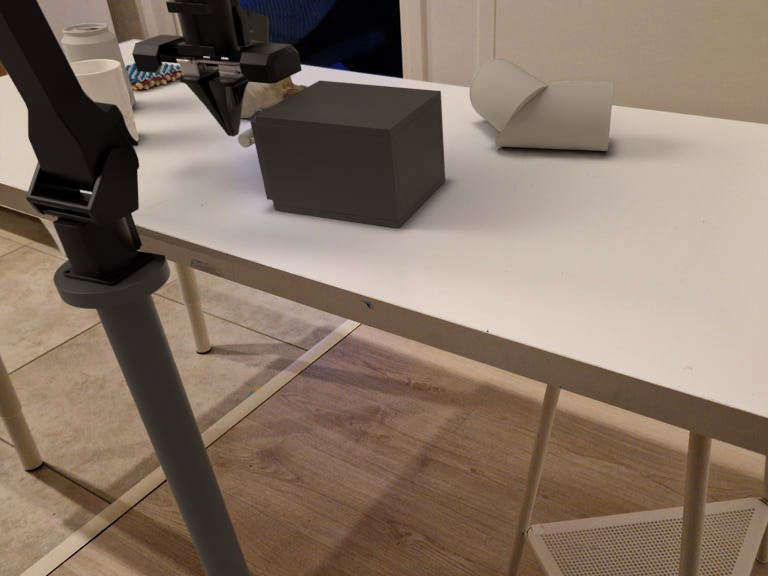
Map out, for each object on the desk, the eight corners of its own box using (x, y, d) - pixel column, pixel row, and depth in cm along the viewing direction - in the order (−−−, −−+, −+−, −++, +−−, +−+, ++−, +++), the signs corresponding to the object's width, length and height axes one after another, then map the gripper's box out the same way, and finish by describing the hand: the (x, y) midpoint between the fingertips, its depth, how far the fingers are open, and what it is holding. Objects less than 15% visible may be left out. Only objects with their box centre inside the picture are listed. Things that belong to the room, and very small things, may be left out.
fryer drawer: (234, 195, 82) (216, 117, 77) (291, 157, 91) (278, 85, 86) (381, 215, 77) (372, 134, 72) (425, 173, 86) (420, 98, 81)
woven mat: (190, 77, 125) (187, 65, 124) (139, 93, 118) (135, 80, 117) (151, 69, 130) (148, 57, 129) (100, 84, 123) (96, 72, 122)
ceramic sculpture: (192, 52, 103) (277, 39, 112) (204, 114, 108) (284, 96, 118) (236, 64, 98) (321, 49, 107) (246, 129, 103) (327, 109, 112)
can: (147, 106, 112) (122, 23, 105) (107, 120, 107) (77, 33, 100) (116, 100, 116) (90, 18, 108) (76, 113, 110) (45, 28, 103)
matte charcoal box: (274, 210, 81) (254, 115, 74) (332, 167, 91) (319, 80, 84) (399, 228, 77) (389, 129, 70) (445, 181, 87) (441, 90, 80)
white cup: (132, 129, 104) (109, 55, 98) (151, 143, 99) (128, 67, 93) (76, 141, 100) (48, 66, 94) (93, 157, 95) (65, 78, 89)
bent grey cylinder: (450, 149, 91) (607, 156, 89) (450, 59, 87) (615, 63, 84) (474, 134, 107) (607, 140, 104) (475, 57, 102) (615, 61, 100)
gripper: (315, -22, 79) (335, 121, 88) (177, -28, 84) (210, 107, 93) (257, -4, 70) (286, 152, 80) (108, -12, 76) (153, 135, 85)
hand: (233, 135), depth 85 cm, fingers closed
